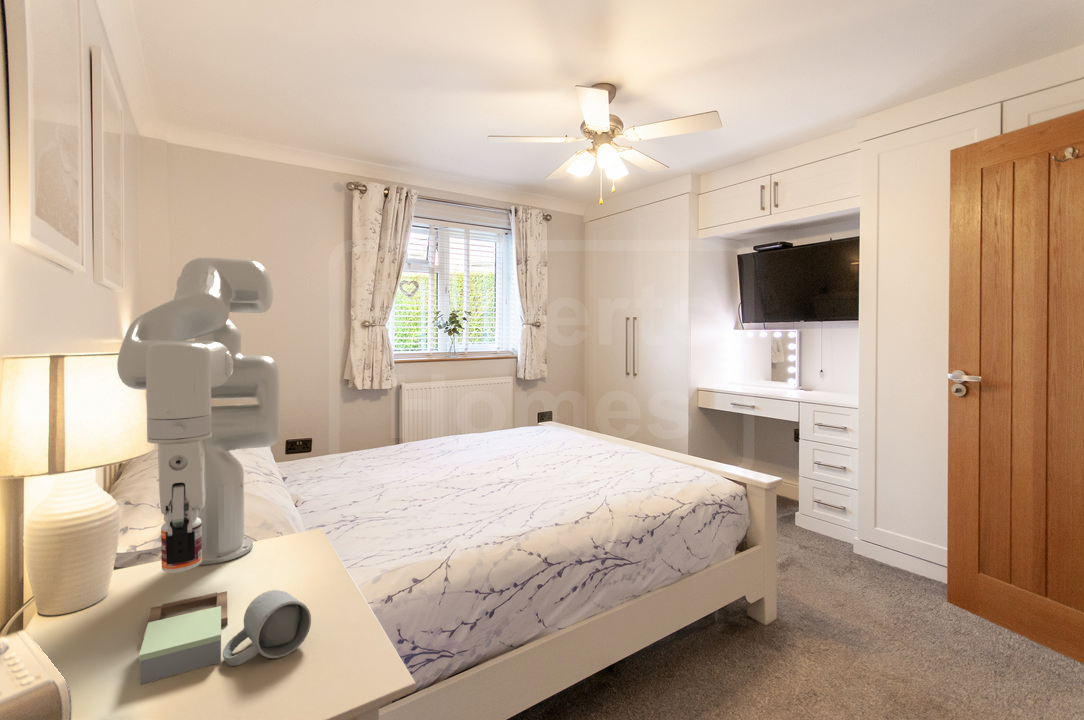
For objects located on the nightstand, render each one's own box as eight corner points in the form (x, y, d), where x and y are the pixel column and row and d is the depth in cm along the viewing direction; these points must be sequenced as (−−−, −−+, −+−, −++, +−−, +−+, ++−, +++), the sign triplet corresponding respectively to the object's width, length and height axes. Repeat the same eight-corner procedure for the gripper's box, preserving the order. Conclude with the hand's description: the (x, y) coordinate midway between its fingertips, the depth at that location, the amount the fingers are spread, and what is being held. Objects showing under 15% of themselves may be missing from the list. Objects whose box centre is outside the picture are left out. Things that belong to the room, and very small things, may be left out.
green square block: (148, 649, 75) (148, 622, 74) (221, 630, 79) (221, 605, 79) (139, 684, 67) (139, 655, 67) (221, 662, 72) (220, 634, 72)
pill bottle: (152, 571, 71) (151, 512, 71) (183, 557, 75) (182, 502, 75) (181, 575, 70) (180, 515, 70) (210, 560, 75) (209, 504, 74)
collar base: (151, 613, 84) (151, 606, 84) (227, 596, 90) (227, 590, 90) (142, 647, 75) (142, 639, 75) (227, 625, 81) (227, 618, 81)
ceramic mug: (291, 623, 82) (289, 577, 81) (312, 644, 76) (311, 594, 76) (215, 654, 74) (213, 603, 73) (233, 680, 68) (231, 624, 68)
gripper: (210, 435, 67) (212, 571, 67) (212, 418, 81) (214, 530, 82) (138, 441, 63) (141, 585, 63) (154, 422, 77) (156, 539, 78)
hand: (182, 552), depth 73 cm, fingers closed on pill bottle, 4 cm apart
